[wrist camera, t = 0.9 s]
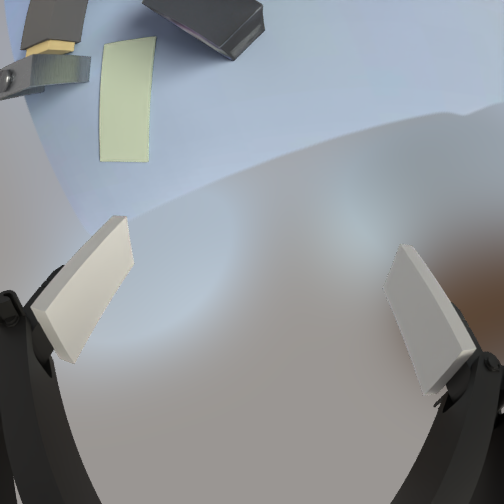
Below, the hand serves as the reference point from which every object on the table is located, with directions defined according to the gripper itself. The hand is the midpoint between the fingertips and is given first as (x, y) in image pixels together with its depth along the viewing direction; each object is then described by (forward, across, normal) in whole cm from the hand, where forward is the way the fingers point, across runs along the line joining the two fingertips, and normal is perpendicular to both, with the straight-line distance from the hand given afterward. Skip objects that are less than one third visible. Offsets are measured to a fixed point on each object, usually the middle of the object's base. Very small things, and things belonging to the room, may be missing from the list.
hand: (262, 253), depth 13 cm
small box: (+26, -8, +17) cm, 31 cm away
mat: (+25, -20, +6) cm, 33 cm away
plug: (+26, -31, +27) cm, 49 cm away
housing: (+25, -32, +12) cm, 42 cm away
